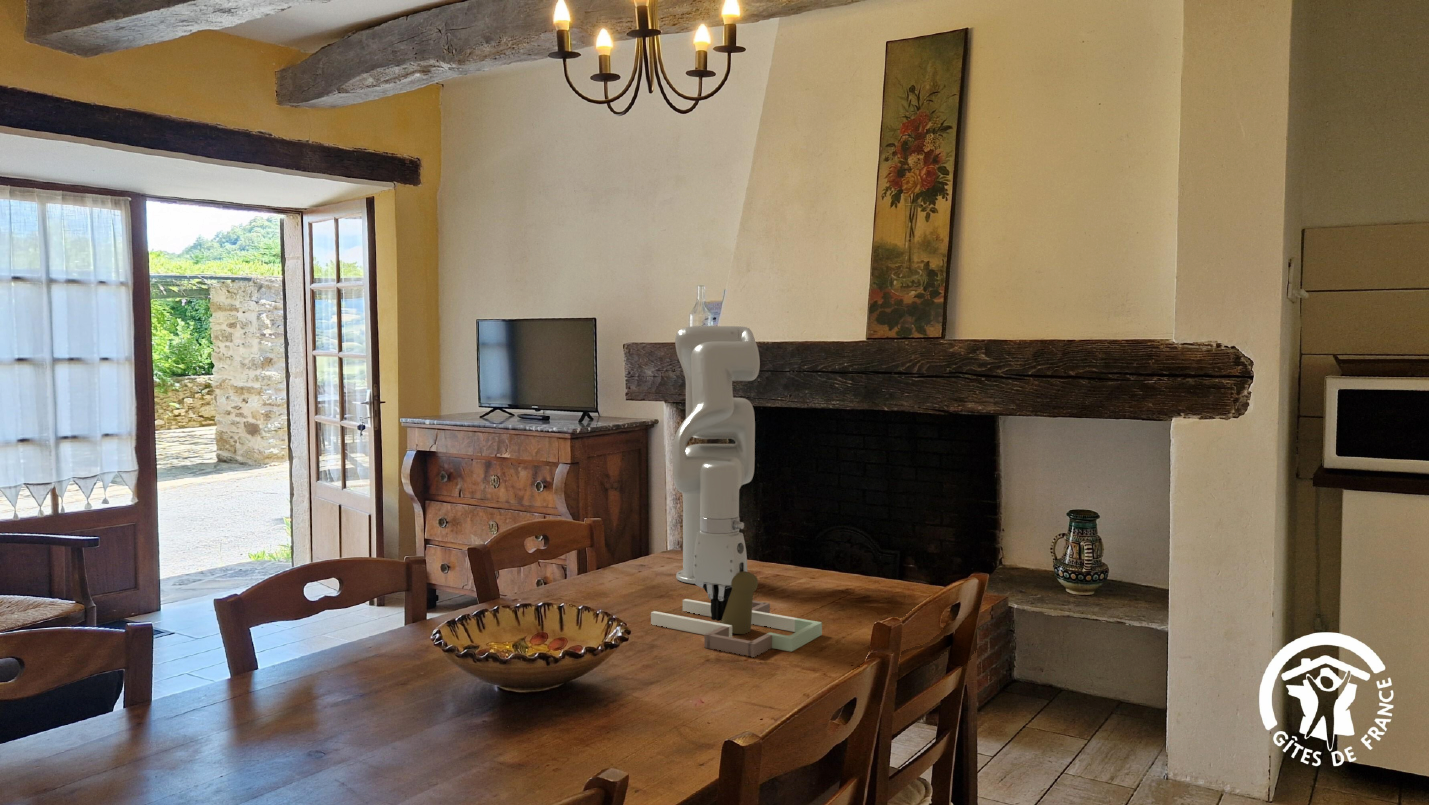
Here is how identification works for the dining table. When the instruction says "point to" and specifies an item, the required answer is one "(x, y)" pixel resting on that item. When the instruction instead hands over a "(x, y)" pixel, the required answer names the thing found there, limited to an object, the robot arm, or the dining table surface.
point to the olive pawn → (740, 603)
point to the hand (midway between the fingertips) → (719, 618)
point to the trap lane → (722, 639)
